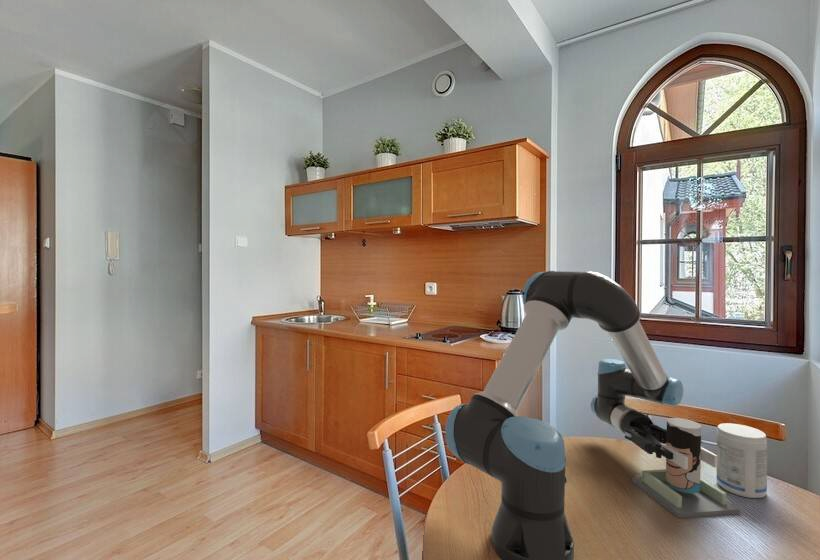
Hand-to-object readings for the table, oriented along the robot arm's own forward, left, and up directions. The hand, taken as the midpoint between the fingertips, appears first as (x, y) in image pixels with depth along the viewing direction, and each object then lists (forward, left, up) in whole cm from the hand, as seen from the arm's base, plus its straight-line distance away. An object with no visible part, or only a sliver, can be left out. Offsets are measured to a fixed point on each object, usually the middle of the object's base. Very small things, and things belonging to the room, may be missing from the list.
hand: (701, 462), depth 89 cm
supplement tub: (+17, +7, -11) cm, 21 cm away
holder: (0, +5, -11) cm, 12 cm away
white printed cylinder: (0, +5, -8) cm, 10 cm away
